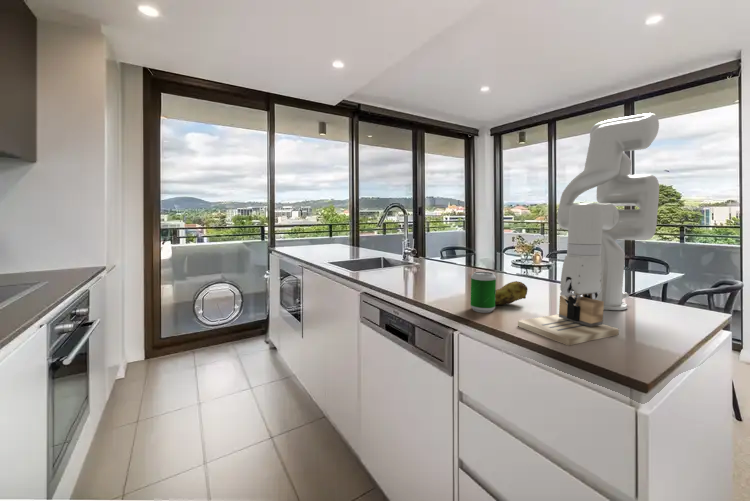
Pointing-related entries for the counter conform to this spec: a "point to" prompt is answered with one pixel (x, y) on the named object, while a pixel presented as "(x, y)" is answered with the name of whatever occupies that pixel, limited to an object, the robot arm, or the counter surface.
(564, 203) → the robot arm
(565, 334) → the board
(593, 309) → the block
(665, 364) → the counter surface
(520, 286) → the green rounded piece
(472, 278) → the soda can
